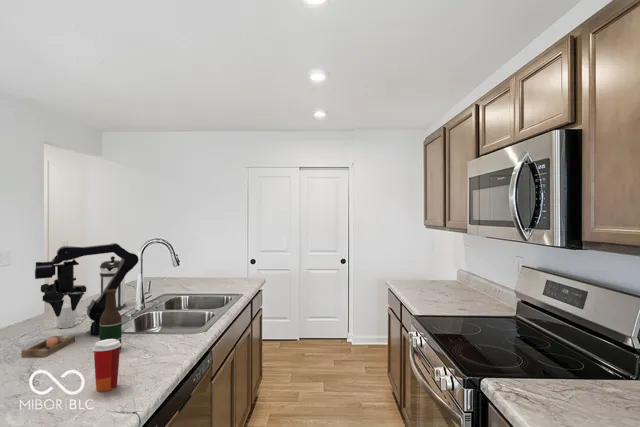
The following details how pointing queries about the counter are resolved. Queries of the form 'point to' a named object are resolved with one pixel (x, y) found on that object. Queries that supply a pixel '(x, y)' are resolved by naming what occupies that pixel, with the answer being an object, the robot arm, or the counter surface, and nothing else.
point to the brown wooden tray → (45, 349)
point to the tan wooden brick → (61, 338)
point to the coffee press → (105, 277)
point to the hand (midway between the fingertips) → (65, 313)
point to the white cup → (66, 317)
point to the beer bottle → (110, 319)
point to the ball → (52, 342)
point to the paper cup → (106, 364)
